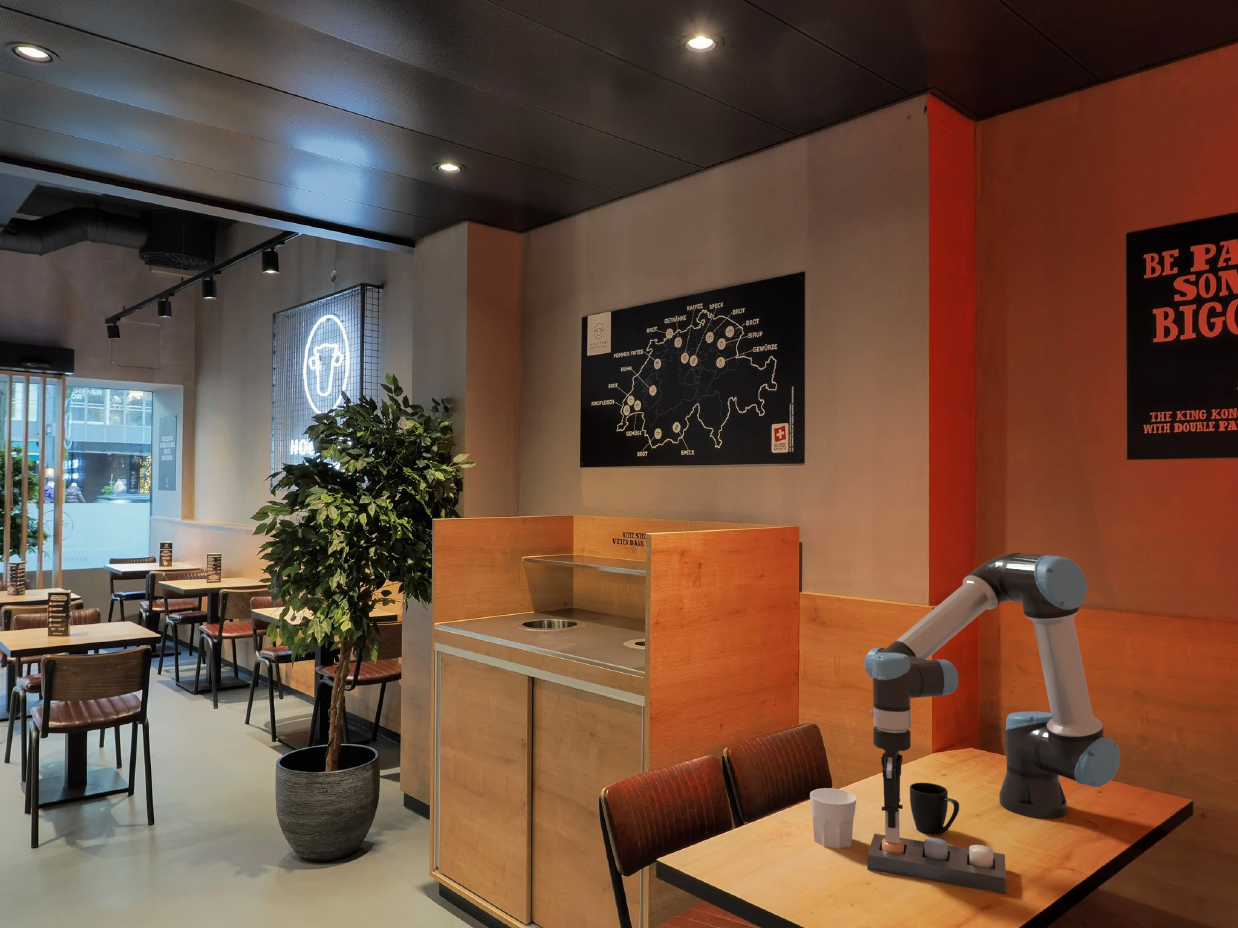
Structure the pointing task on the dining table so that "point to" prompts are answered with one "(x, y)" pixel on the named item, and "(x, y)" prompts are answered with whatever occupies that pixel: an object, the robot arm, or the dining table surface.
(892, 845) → the button orange
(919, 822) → the mug
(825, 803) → the cup
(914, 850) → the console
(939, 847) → the button slate
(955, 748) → the dining table surface
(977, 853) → the button cream
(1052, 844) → the dining table surface
